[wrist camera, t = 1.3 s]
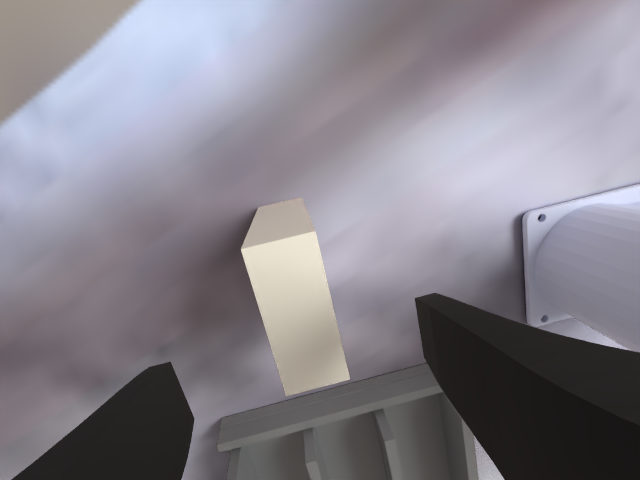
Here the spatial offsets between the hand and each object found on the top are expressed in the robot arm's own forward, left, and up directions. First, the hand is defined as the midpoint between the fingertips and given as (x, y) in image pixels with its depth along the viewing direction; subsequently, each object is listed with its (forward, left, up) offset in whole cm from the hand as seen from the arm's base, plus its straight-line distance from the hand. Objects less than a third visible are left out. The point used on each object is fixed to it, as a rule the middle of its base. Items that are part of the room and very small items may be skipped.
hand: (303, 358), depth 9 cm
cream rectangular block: (0, 0, -10) cm, 10 cm away
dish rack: (0, +17, -10) cm, 20 cm away
